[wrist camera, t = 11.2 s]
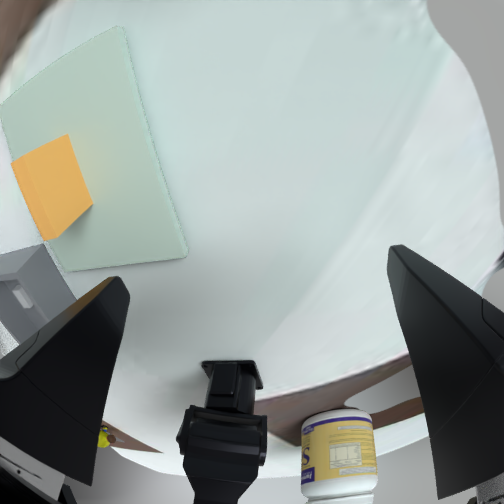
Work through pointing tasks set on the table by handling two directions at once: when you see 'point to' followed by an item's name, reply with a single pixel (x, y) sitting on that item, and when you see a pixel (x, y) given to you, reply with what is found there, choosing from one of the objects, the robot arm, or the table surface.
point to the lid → (91, 160)
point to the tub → (30, 291)
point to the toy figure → (105, 438)
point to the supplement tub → (338, 458)
